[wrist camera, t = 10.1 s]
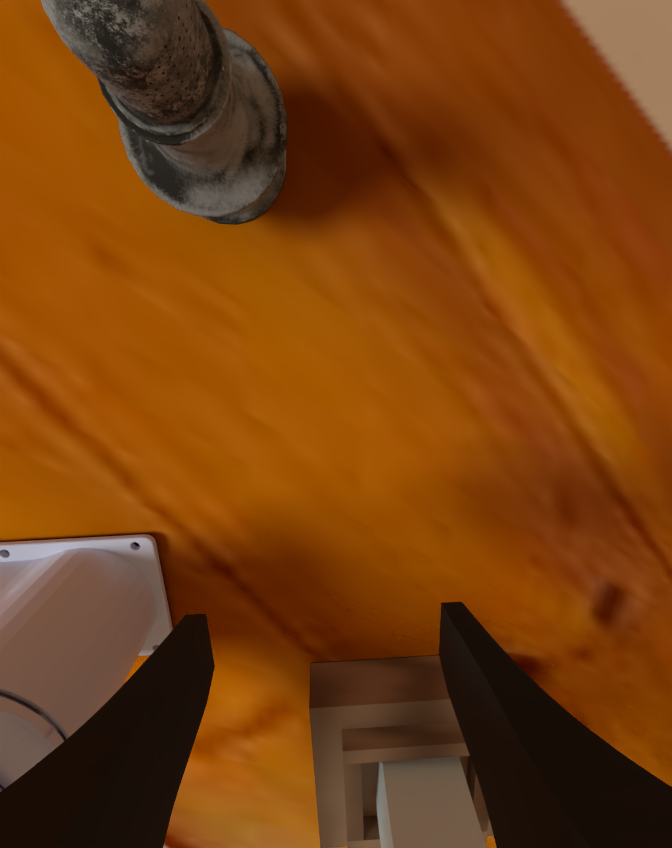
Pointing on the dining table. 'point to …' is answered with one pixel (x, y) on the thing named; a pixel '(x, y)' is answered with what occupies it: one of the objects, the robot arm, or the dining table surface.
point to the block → (426, 805)
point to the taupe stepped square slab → (378, 738)
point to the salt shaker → (184, 101)
